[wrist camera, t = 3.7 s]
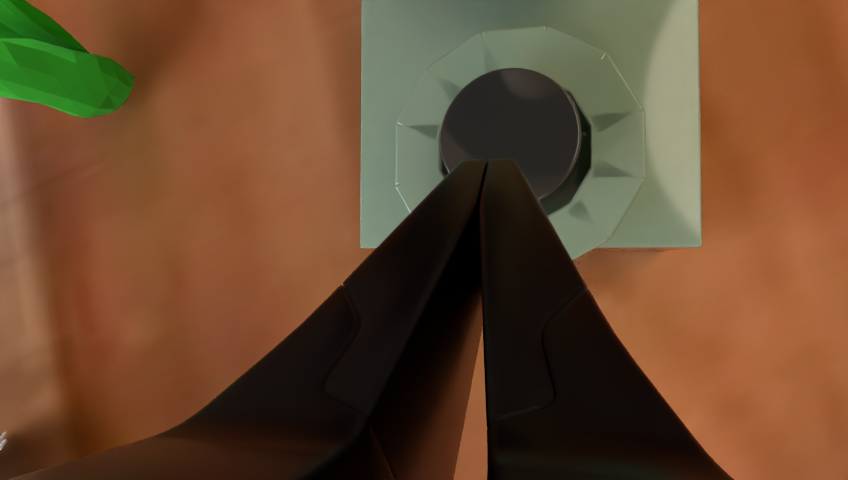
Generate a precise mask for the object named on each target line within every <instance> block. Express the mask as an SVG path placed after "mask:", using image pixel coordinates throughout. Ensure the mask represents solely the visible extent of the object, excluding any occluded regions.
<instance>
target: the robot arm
mask: <svg viewBox="0 0 848 480" xmlns="http://www.w3.org/2000/svg"><path fill="white" fill-rule="evenodd" d="M482 326H483V343H484V368H485V393H486V418H487V428H488V429H487V445H488V474H487V480H734V479H733V478H732V477H730V476H729V475H728V474H727V473H726V472H725V471H724V470H723V469H722V468H721V467H720V466H719V465H718V464H717V463H716V462H715V461H714V460H713V459H712V458H711V457H710V456H709V455H708V454H707V452H706V451H705V450H704V449H703V448H702V446H701V445H700V444H699V443H698V441H697V440H696V439H695V438H694V436H693V435H692V434H691V433H690V431H689V430H688V429H687V427H686V426H685V425H684V424H683V422H682V421H681V420H680V418H679V417H678V416H677V415H676V413H675V412H674V411H673V409H672V408H671V407H670V406H669V404H668V403H667V402H666V400H665V399H664V398H663V397H662V395H661V394H660V393H659V392H658V390H657V389H656V388H655V386H654V385H653V384H652V383H651V381H650V380H649V379H648V377H647V376H646V375H645V374H644V372H643V371H642V370H641V368H640V367H639V366H638V365H637V363H636V362H635V360H634V359H633V358H632V356H631V355H630V354H629V352H628V351H627V349H626V348H625V347H624V345H623V344H622V343H621V341H620V340H619V338H618V337H617V336H616V334H615V333H614V331H613V329H612V328H611V326H610V324H609V323H608V321H607V320H606V318H605V316H604V315H603V313H602V311H601V310H600V308H599V306H598V305H597V303H596V301H595V299H594V298H593V296H592V294H591V292H590V291H589V290H588V289H587V286H586V284H585V282H584V280H583V278H582V277H581V275H580V273H579V271H578V270H577V268H576V266H575V264H574V262H573V261H572V259H571V257H570V255H569V253H568V252H567V250H566V248H565V246H564V245H563V243H562V241H561V239H560V237H559V236H558V234H557V232H556V230H555V228H554V227H553V225H552V223H551V221H550V219H549V218H548V216H547V214H546V212H545V211H544V209H543V207H542V205H541V203H540V202H539V200H538V198H537V196H536V194H535V193H534V191H533V189H532V187H531V186H530V184H529V182H528V180H527V178H526V177H525V175H524V173H523V171H522V169H521V168H520V166H519V164H518V162H517V161H516V159H514V158H492V159H490V160H489V161H487V160H486V159H464V160H462V161H460V162H459V163H458V164H457V165H456V166H455V167H454V168H453V169H452V170H451V171H450V172H449V173H448V174H447V175H446V177H445V178H444V179H443V180H442V181H441V182H440V183H439V184H438V185H437V186H436V187H435V188H434V189H433V190H432V191H431V192H430V193H429V194H428V195H427V196H426V197H425V198H424V199H423V200H422V201H421V202H420V203H419V204H418V206H417V207H416V208H415V209H414V210H413V211H412V212H411V213H410V214H409V215H408V216H407V217H406V218H405V219H404V220H403V221H402V222H401V223H400V224H399V225H398V226H397V227H396V228H395V229H394V230H393V231H392V232H391V233H390V234H389V236H388V237H387V238H386V239H385V240H384V241H383V242H382V243H381V244H380V245H379V246H378V247H377V248H376V249H375V250H374V251H373V252H372V253H371V254H370V255H369V256H368V257H367V258H366V259H365V260H364V261H363V262H362V263H361V264H360V266H359V267H358V268H357V269H356V270H355V271H354V272H353V273H352V274H351V275H350V276H349V277H348V278H347V279H346V280H345V281H344V282H343V286H342V285H341V286H339V287H338V288H337V289H336V290H335V291H334V292H333V293H332V294H331V295H330V296H329V297H328V298H327V299H326V300H325V301H324V302H323V303H322V304H321V305H320V306H319V307H318V308H317V309H316V310H315V311H314V312H313V313H312V314H311V315H310V316H309V317H308V318H307V319H306V320H305V321H304V322H303V323H302V324H301V325H300V326H299V327H297V328H296V329H295V330H294V331H293V332H292V333H291V334H290V335H288V336H287V337H286V338H285V339H284V340H283V341H282V342H281V343H279V344H278V345H277V346H276V347H275V348H274V349H273V350H271V351H270V352H269V353H268V354H267V355H265V356H264V357H263V358H262V359H261V360H260V361H258V362H257V363H256V364H255V365H254V366H252V367H251V368H250V369H249V370H248V371H247V372H245V373H244V374H243V375H242V376H241V377H239V378H238V379H237V380H236V381H235V382H234V383H232V384H231V385H230V386H229V387H228V388H226V389H225V390H224V391H223V392H222V393H221V394H219V395H218V396H217V397H216V398H215V399H213V400H212V401H211V402H210V403H209V404H208V405H206V406H205V407H204V408H202V409H201V410H200V411H199V412H197V413H196V414H195V415H193V416H192V417H190V418H189V419H187V420H186V421H184V422H183V423H181V424H179V425H177V426H175V427H173V428H172V429H170V430H167V431H165V432H163V433H160V434H158V435H155V436H153V437H150V438H147V439H143V440H140V441H136V442H133V443H130V444H126V445H123V446H119V447H116V448H112V449H109V450H106V451H102V452H99V453H95V454H92V455H89V456H85V457H82V458H78V459H75V460H71V461H68V462H65V463H61V464H58V465H54V466H51V467H48V468H44V469H41V470H37V471H34V472H30V473H27V474H24V475H20V476H17V477H13V478H10V479H7V480H453V478H454V472H455V467H456V462H457V457H458V451H459V446H460V441H461V436H462V431H463V425H464V420H465V415H466V410H467V404H468V399H469V394H470V389H471V383H472V378H473V373H474V368H475V362H476V357H477V352H478V347H479V342H480V336H481V331H482Z"/></svg>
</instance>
